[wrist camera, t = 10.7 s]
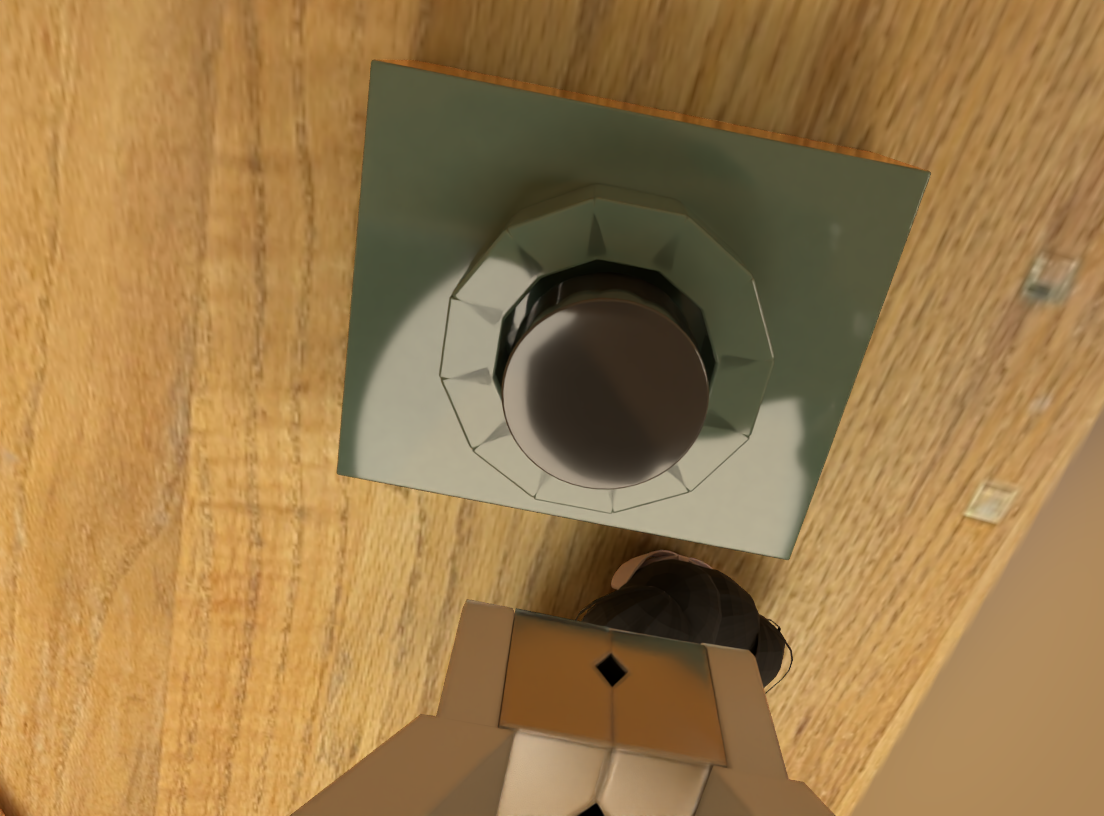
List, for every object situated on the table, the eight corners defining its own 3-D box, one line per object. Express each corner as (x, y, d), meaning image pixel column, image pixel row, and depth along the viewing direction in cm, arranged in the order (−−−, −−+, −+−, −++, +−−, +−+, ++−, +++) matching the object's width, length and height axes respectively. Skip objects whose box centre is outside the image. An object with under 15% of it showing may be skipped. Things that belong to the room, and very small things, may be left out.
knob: (719, 291, 16) (734, 322, 15) (672, 460, 18) (680, 507, 16) (528, 254, 16) (518, 279, 14) (498, 427, 18) (486, 470, 16)
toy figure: (582, 847, 32) (811, 591, 25) (552, 1017, 26) (838, 740, 20) (425, 759, 31) (617, 478, 25) (361, 910, 26) (587, 595, 19)
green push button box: (873, 152, 20) (973, 185, 15) (761, 486, 24) (807, 609, 19) (412, 59, 20) (341, 58, 15) (376, 412, 24) (309, 515, 19)
